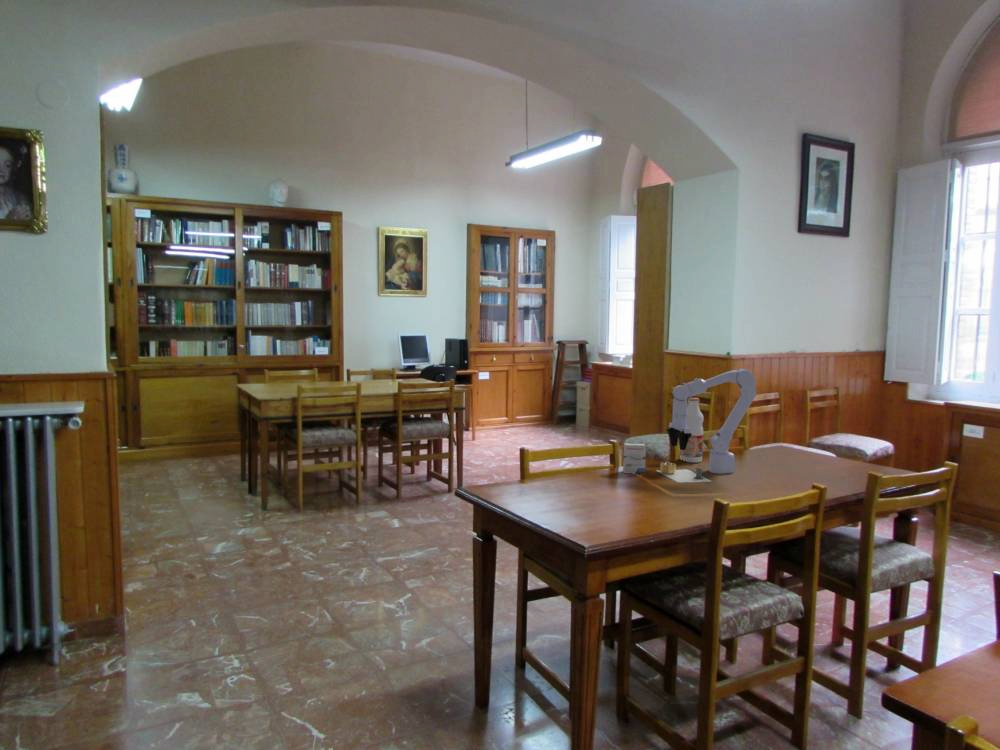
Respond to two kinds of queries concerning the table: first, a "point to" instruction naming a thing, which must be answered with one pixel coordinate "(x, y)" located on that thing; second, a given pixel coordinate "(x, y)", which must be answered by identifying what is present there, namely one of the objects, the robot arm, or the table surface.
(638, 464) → the ink box
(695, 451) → the fruit juice
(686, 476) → the board
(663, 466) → the ring
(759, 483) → the table surface
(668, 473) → the hub
